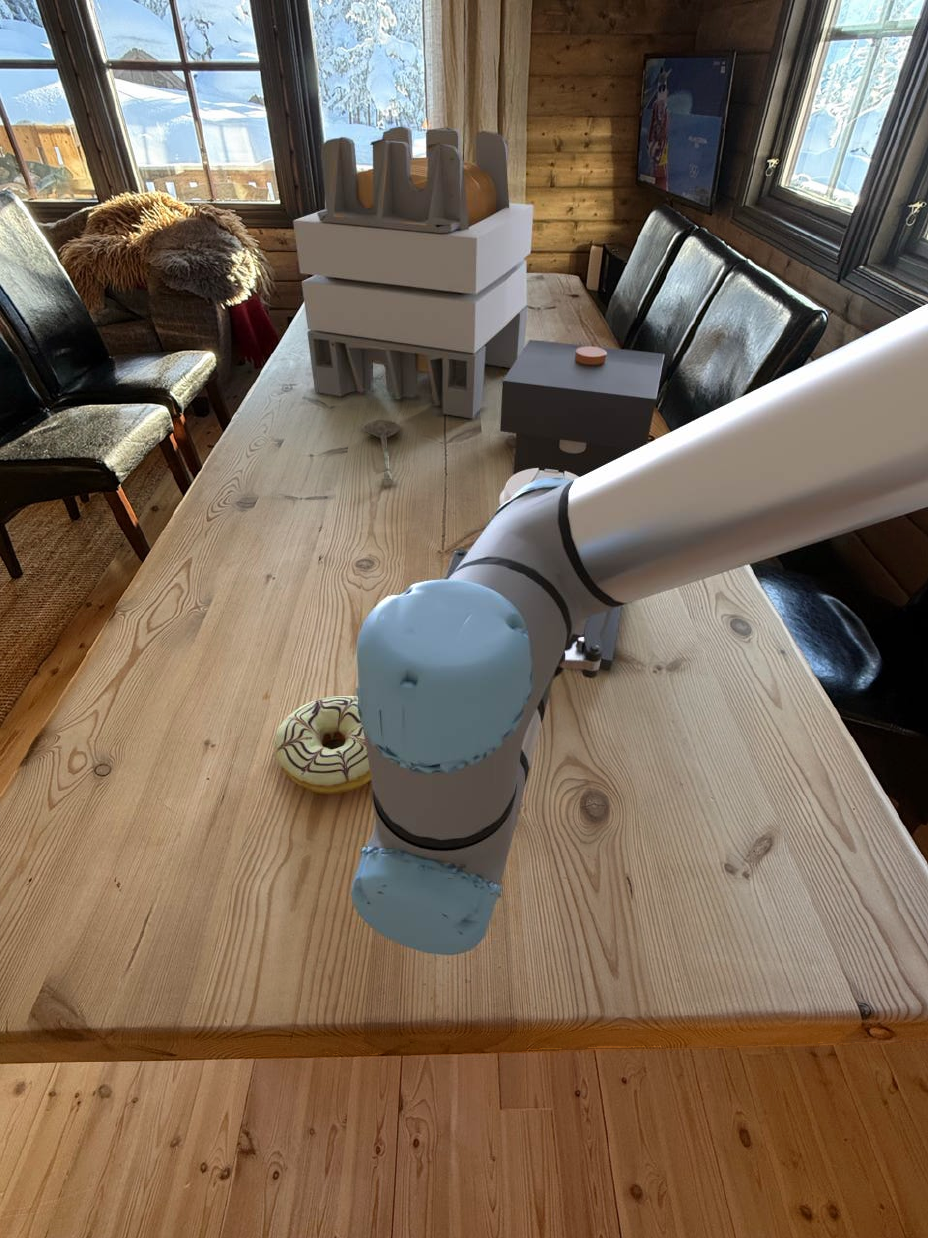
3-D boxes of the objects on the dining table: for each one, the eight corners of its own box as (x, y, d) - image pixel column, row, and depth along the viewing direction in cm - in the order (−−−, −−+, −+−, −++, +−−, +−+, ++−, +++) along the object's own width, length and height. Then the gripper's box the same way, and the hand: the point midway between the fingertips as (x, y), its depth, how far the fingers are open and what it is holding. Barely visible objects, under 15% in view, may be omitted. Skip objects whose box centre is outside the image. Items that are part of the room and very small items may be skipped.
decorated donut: (318, 700, 68) (313, 675, 66) (411, 732, 65) (409, 707, 63) (257, 777, 61) (249, 752, 58) (358, 818, 58) (354, 792, 55)
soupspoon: (400, 428, 119) (364, 431, 118) (399, 410, 116) (361, 413, 116) (408, 485, 102) (366, 489, 101) (406, 464, 99) (362, 469, 99)
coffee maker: (610, 670, 72) (665, 419, 53) (469, 641, 75) (474, 395, 56) (626, 575, 85) (676, 346, 66) (506, 554, 88) (520, 330, 69)
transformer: (526, 361, 143) (543, 128, 116) (474, 420, 120) (480, 147, 93) (385, 340, 152) (370, 120, 125) (311, 392, 129) (274, 135, 102)
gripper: (358, 713, 49) (449, 544, 66) (624, 775, 45) (649, 578, 62) (348, 639, 44) (449, 476, 61) (646, 701, 40) (666, 509, 57)
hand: (549, 528), depth 61 cm, fingers closed on paper cup, 7 cm apart
